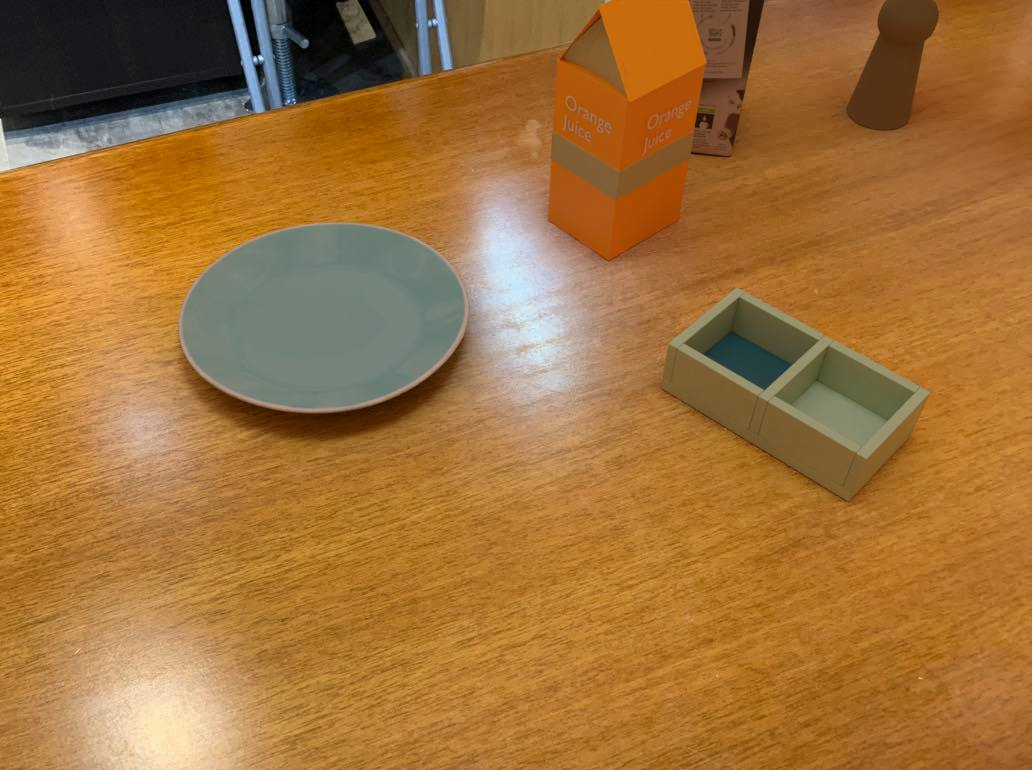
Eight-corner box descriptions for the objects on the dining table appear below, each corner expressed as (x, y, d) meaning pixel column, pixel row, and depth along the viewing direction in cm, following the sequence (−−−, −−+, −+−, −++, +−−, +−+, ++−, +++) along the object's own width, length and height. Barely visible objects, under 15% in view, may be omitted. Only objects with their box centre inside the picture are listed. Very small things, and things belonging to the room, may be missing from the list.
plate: (149, 293, 88) (140, 265, 86) (399, 218, 94) (397, 190, 92) (240, 478, 76) (233, 451, 74) (519, 378, 82) (520, 350, 80)
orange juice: (545, 219, 94) (559, -14, 79) (616, 180, 98) (643, -50, 82) (609, 262, 91) (637, 28, 75) (680, 220, 95) (721, -12, 79)
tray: (910, 436, 79) (931, 392, 76) (848, 502, 75) (866, 459, 72) (726, 332, 86) (736, 286, 82) (659, 387, 82) (668, 343, 78)
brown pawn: (886, 91, 108) (922, -22, 99) (922, 123, 104) (962, 9, 96) (834, 102, 106) (866, -11, 98) (868, 135, 103) (905, 20, 94)
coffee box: (733, 158, 100) (770, -20, 88) (664, 151, 101) (690, -27, 88) (735, 104, 106) (771, -70, 93) (669, 98, 106) (695, -76, 94)
